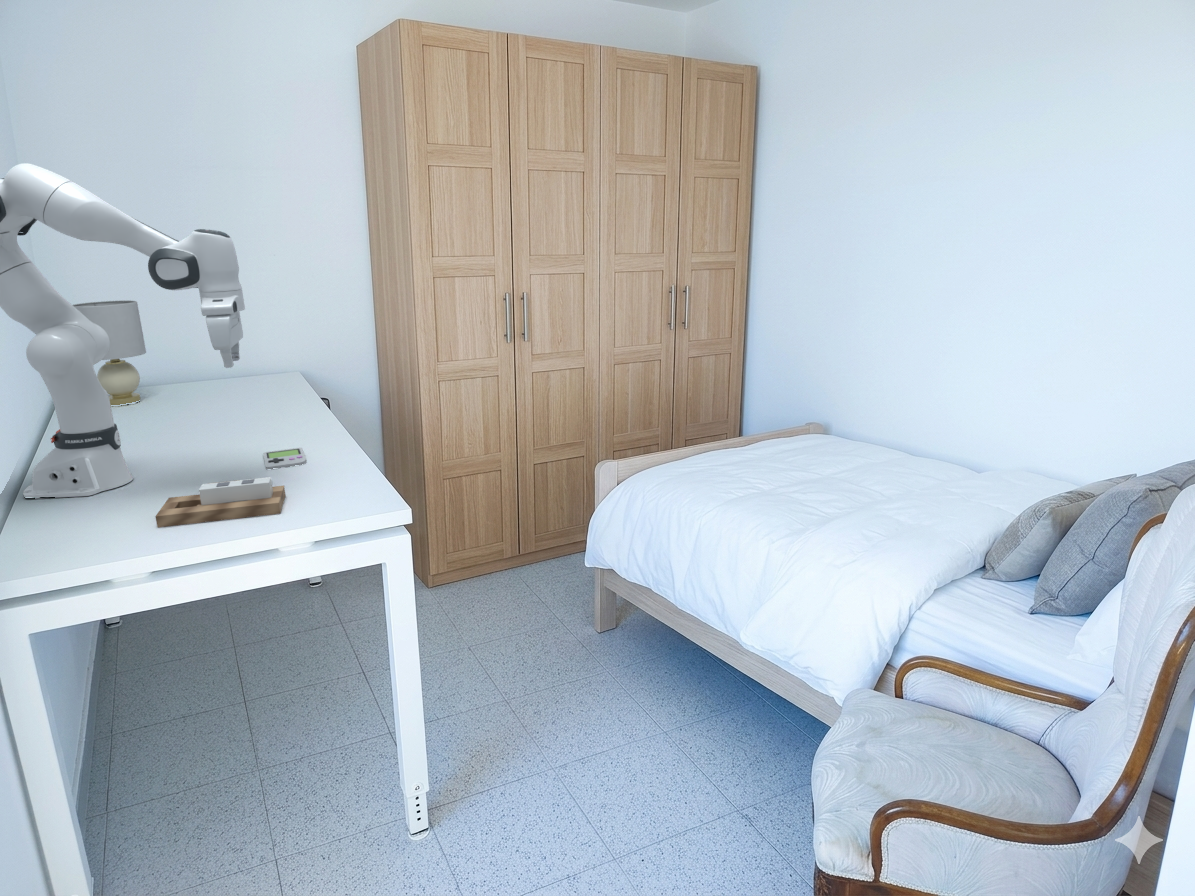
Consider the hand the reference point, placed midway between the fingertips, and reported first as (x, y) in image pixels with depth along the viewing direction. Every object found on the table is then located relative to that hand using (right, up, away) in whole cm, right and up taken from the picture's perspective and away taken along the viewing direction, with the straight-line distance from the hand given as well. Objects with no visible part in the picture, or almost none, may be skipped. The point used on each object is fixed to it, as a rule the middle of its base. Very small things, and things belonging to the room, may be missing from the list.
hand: (232, 363), depth 183 cm
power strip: (+6, -31, -10) cm, 33 cm away
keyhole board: (+3, -33, -10) cm, 35 cm away
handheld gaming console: (+2, -23, +27) cm, 35 cm away
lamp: (-85, -4, +99) cm, 131 cm away
